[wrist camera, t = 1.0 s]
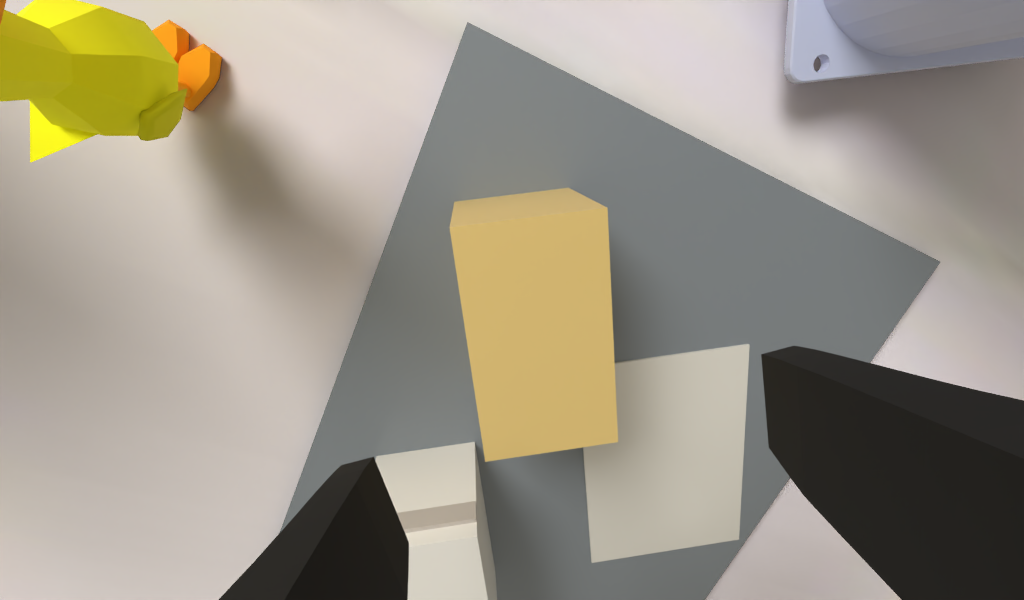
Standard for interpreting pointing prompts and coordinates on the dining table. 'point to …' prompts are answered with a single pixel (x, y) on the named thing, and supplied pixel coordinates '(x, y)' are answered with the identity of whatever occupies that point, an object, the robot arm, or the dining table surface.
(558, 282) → the ochre brick
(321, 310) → the dining table surface
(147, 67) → the toy figure
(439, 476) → the cream brick
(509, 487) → the baseplate
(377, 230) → the dining table surface
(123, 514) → the dining table surface
